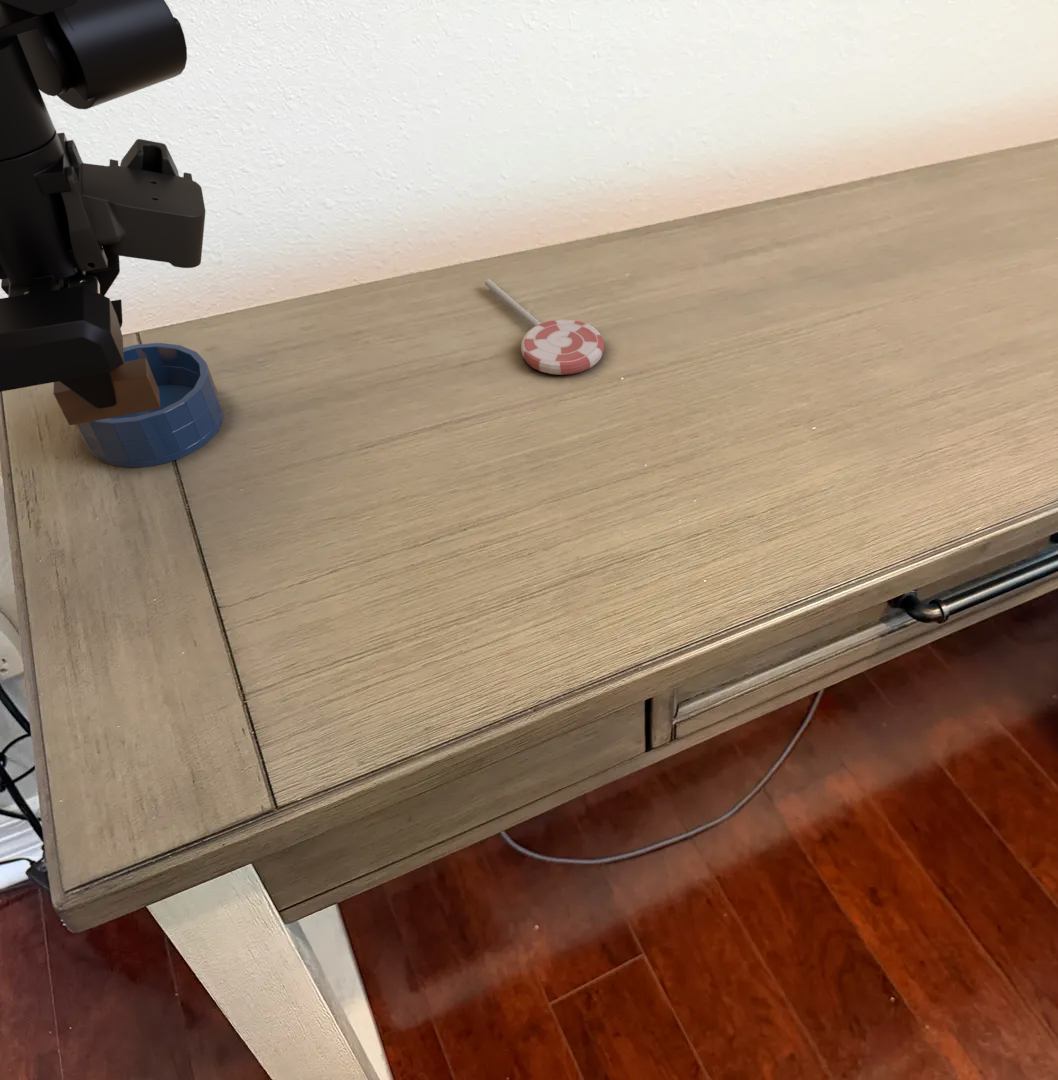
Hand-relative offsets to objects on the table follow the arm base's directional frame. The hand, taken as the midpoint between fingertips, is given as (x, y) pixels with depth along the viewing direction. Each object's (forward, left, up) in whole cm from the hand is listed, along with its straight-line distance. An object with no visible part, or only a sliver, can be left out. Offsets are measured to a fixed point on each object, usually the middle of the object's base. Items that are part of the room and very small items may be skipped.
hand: (106, 395), depth 62 cm
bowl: (0, +10, -10) cm, 14 cm away
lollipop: (+29, +13, -10) cm, 33 cm away
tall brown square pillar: (0, 0, -1) cm, 1 cm away
